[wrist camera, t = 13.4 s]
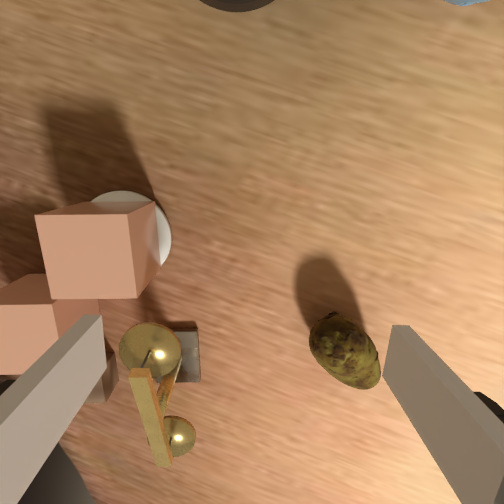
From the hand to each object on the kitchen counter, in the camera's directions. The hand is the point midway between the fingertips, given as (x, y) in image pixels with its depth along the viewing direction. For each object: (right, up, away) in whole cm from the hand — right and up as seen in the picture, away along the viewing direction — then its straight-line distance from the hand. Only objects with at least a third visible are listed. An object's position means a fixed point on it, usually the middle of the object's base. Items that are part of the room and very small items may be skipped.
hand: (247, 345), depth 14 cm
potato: (+12, -8, +30) cm, 33 cm away
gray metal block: (-21, -12, +30) cm, 39 cm away
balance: (-10, -10, +29) cm, 33 cm away
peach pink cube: (-15, +6, +23) cm, 29 cm away
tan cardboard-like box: (-24, -2, +27) cm, 36 cm away
